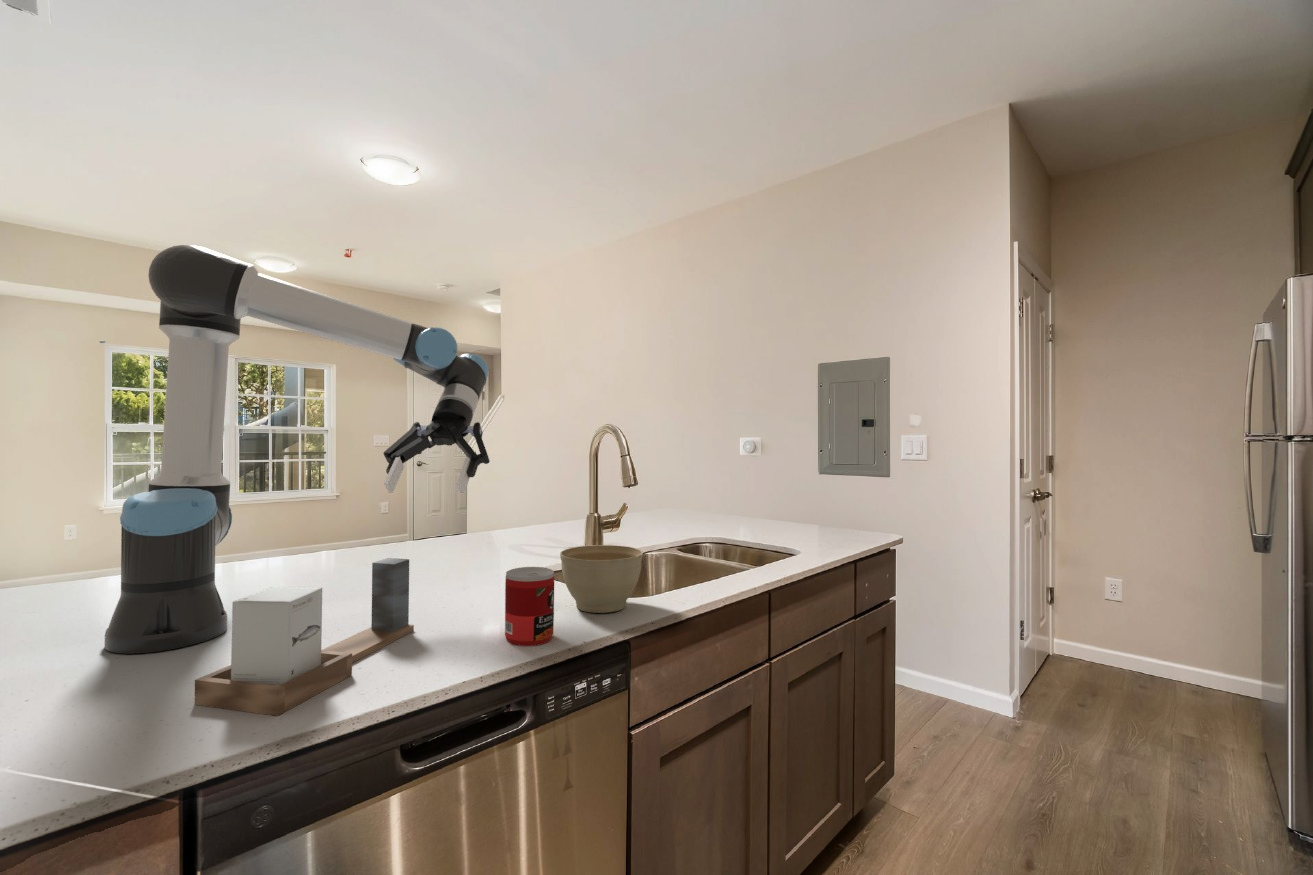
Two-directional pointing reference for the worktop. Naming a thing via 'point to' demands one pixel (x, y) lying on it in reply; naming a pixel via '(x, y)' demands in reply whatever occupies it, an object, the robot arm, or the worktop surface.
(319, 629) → the supplement box
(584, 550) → the planter bowl
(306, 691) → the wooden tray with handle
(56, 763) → the worktop surface
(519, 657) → the worktop surface
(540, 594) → the canned food
